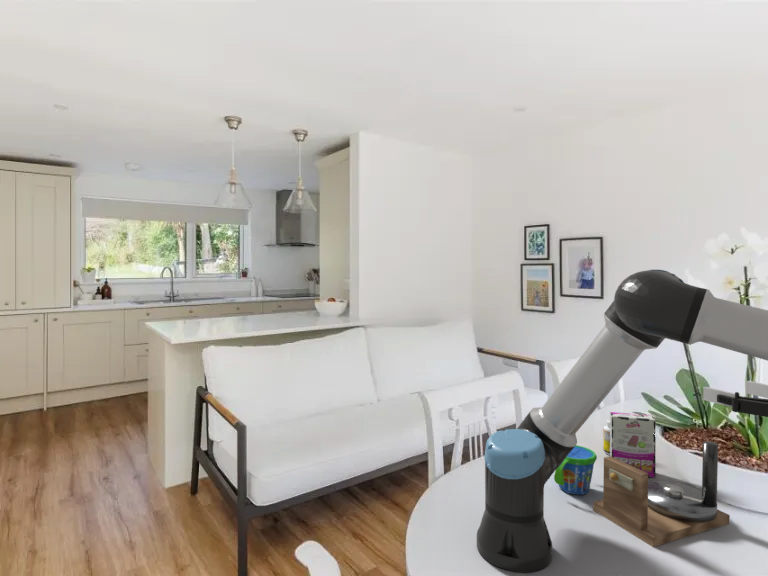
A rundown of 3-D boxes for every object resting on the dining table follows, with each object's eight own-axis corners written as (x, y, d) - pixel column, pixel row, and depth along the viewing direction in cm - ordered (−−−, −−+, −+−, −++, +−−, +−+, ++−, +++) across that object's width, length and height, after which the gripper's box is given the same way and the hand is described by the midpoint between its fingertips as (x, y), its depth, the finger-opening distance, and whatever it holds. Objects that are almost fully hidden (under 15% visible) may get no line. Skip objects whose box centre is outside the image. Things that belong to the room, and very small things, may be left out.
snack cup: (573, 474, 130) (574, 439, 130) (609, 489, 122) (610, 451, 121) (537, 489, 122) (538, 451, 121) (573, 506, 113) (574, 465, 113)
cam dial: (635, 506, 108) (636, 439, 107) (648, 483, 119) (649, 422, 119) (714, 529, 98) (715, 455, 98) (719, 501, 110) (721, 435, 109)
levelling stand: (647, 548, 96) (648, 482, 95) (588, 511, 110) (588, 453, 110) (729, 523, 105) (730, 463, 104) (664, 492, 120) (665, 439, 119)
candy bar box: (652, 471, 132) (653, 414, 132) (655, 478, 127) (656, 420, 127) (609, 465, 136) (609, 410, 135) (611, 472, 131) (611, 415, 131)
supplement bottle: (613, 449, 149) (613, 417, 148) (627, 455, 143) (627, 423, 143) (599, 451, 147) (599, 419, 146) (612, 457, 142) (613, 425, 141)
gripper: (812, 452, 74) (685, 414, 94) (894, 431, 83) (762, 401, 103) (813, 406, 74) (685, 377, 94) (896, 390, 83) (763, 367, 103)
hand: (725, 390), depth 99 cm, fingers open, 13 cm apart
